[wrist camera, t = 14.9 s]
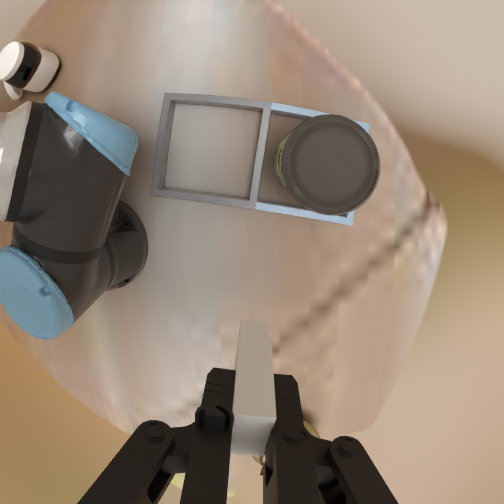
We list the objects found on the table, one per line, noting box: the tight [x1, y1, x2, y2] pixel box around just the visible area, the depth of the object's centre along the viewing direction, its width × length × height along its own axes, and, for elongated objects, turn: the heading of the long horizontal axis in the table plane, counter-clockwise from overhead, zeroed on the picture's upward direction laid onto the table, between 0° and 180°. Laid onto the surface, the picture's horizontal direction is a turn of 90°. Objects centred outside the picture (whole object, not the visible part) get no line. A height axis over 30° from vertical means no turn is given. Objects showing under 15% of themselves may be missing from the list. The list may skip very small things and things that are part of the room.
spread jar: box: [0, 42, 60, 100], centre depth 29 cm, size 12×11×12 cm
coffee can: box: [274, 114, 380, 216], centre depth 33 cm, size 10×10×14 cm
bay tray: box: [151, 93, 370, 226], centre depth 39 cm, size 29×15×3 cm, turn 81°
